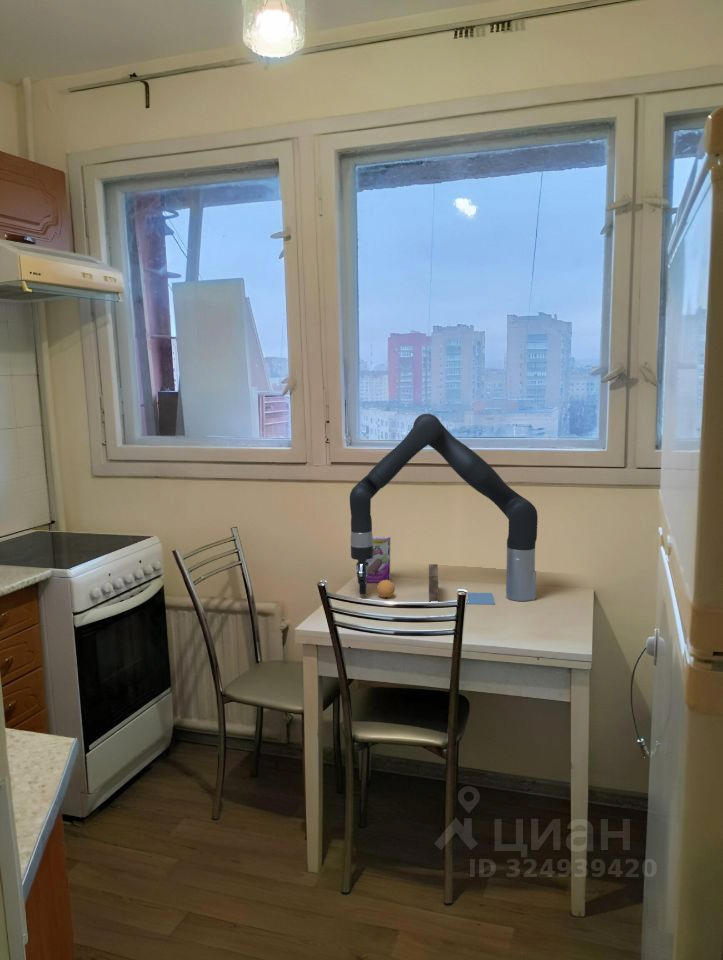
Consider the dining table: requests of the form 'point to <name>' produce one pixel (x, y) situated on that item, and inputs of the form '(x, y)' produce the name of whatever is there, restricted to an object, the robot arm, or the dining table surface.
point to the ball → (385, 588)
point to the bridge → (433, 582)
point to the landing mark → (480, 598)
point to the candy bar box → (379, 561)
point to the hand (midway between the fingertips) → (362, 593)
